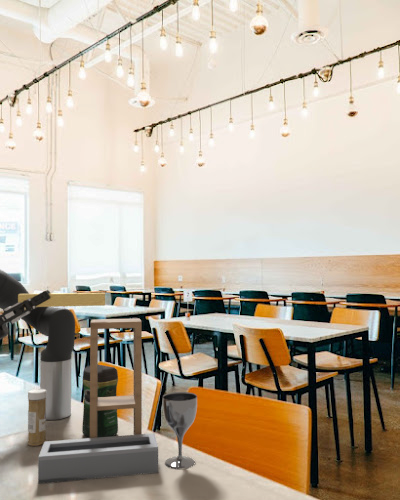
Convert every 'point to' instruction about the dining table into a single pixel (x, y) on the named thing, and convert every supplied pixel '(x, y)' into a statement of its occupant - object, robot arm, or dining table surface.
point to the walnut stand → (96, 401)
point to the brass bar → (68, 299)
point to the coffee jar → (106, 388)
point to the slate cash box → (97, 458)
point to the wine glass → (179, 422)
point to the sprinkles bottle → (37, 417)
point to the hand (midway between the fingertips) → (49, 293)
